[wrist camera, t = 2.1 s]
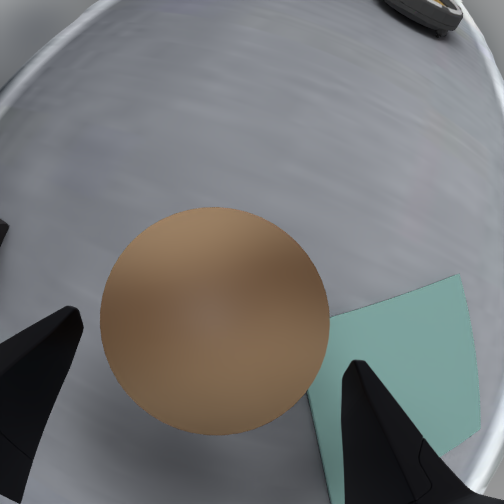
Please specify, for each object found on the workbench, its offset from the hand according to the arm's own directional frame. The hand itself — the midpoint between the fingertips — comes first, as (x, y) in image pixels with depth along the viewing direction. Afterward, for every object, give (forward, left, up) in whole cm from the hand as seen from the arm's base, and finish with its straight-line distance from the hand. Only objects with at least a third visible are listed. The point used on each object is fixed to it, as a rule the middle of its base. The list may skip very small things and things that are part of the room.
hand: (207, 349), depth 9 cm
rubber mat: (-7, -11, -9) cm, 16 cm away
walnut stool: (+1, 0, -9) cm, 9 cm away
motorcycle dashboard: (+45, -39, -10) cm, 60 cm away
